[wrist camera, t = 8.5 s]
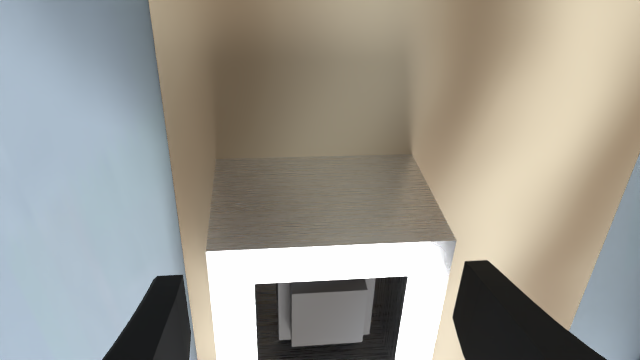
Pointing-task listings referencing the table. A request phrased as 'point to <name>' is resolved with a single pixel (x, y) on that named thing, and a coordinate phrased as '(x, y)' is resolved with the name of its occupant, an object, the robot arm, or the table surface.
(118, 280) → the table surface
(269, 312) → the steel collar
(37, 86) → the table surface
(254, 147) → the post board
